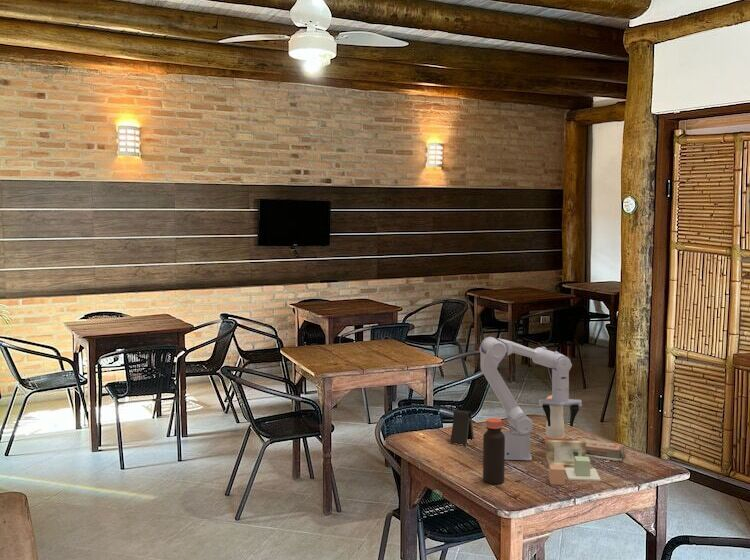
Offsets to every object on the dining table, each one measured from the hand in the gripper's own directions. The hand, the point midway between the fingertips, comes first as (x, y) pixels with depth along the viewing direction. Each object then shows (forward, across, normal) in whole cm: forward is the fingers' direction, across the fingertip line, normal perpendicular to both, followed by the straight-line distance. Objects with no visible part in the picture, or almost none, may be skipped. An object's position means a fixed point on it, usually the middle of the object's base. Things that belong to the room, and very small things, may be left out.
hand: (560, 425), depth 262 cm
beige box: (+10, +1, -10) cm, 15 cm away
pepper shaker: (+11, 0, +11) cm, 15 cm away
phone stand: (+10, -34, +11) cm, 38 cm away
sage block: (+10, +4, -20) cm, 23 cm away
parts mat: (+10, +4, -20) cm, 23 cm away
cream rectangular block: (+9, +1, -10) cm, 14 cm away
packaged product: (+11, +13, +1) cm, 17 cm away
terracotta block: (+10, -4, -27) cm, 29 cm away
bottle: (+10, -24, -28) cm, 39 cm away
